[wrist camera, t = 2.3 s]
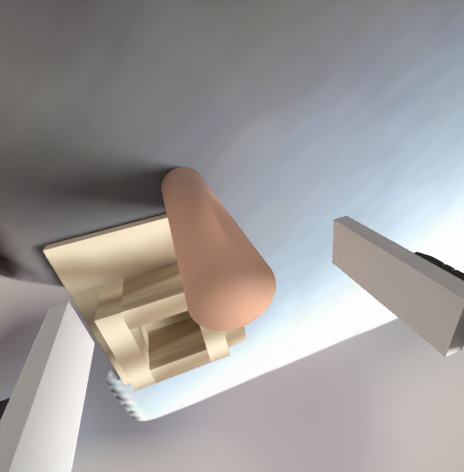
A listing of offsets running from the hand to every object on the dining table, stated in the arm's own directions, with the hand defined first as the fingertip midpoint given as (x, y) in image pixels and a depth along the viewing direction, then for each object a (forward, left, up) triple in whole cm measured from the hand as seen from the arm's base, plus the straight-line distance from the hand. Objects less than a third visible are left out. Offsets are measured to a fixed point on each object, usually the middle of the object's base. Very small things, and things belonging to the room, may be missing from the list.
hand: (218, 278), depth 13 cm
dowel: (0, 0, -14) cm, 14 cm away
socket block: (+12, -5, -14) cm, 19 cm away
